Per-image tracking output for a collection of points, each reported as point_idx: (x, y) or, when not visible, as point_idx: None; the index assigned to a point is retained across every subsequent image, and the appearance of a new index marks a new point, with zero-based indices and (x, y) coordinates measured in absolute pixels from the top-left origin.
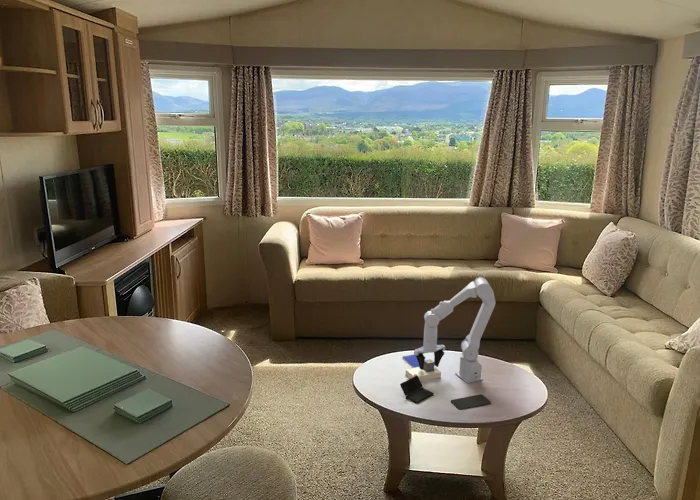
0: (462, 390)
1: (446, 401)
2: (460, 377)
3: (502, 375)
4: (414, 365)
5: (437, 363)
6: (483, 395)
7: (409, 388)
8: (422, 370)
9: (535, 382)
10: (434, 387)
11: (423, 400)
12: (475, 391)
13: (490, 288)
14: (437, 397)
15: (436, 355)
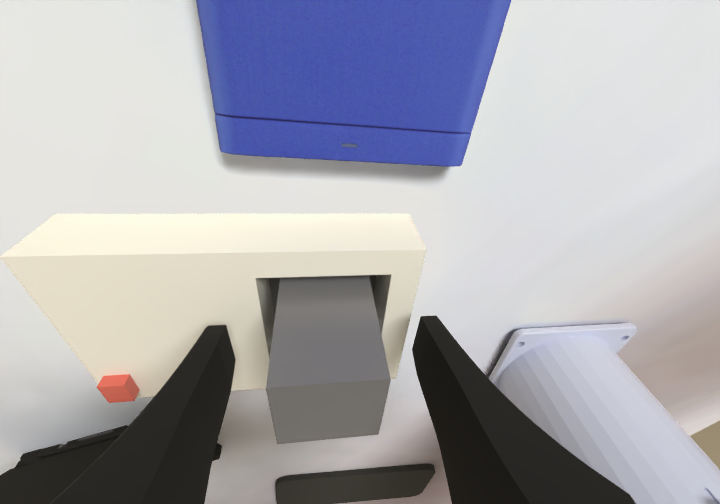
0: (392, 439)
1: (259, 477)
2: (492, 374)
3: (682, 386)
4: (239, 85)
5: (425, 391)
6: (433, 474)
7: (26, 481)
8: (241, 329)
9: (688, 434)
10: (264, 408)
11: None
12: (438, 448)
13: None
14: (231, 460)
15: (471, 478)
